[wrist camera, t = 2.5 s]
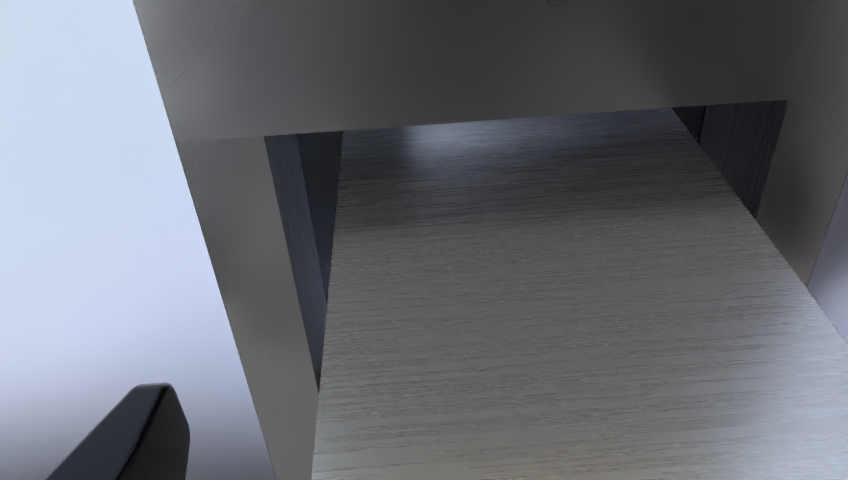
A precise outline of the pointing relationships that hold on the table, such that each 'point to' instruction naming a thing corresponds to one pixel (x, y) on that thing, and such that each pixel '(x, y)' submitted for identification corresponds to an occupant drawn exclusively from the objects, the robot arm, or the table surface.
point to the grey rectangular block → (566, 313)
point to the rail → (466, 102)
